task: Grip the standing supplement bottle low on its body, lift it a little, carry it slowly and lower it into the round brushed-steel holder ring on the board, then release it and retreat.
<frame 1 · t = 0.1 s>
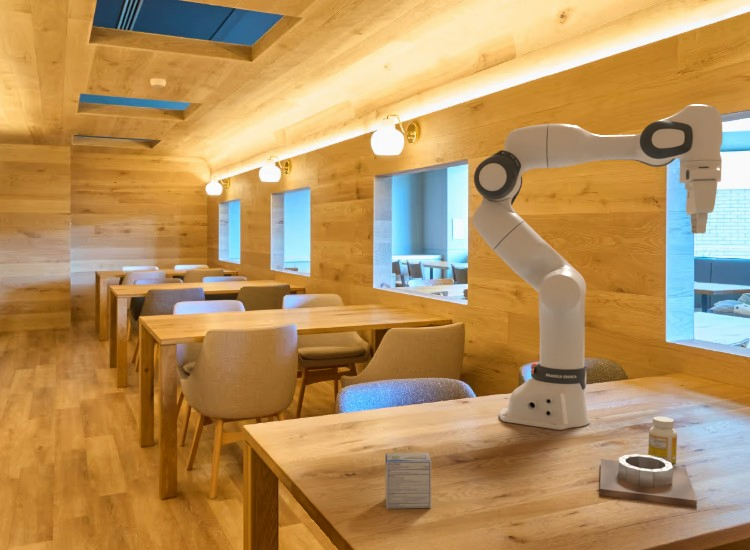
hand: (698, 233, 157), 48 cm above the table, fingers open, 8 cm apart
medicine box: (407, 505, 117), on the table
supplement bottle: (661, 465, 137), on the table
holder board: (644, 484, 126), on the table
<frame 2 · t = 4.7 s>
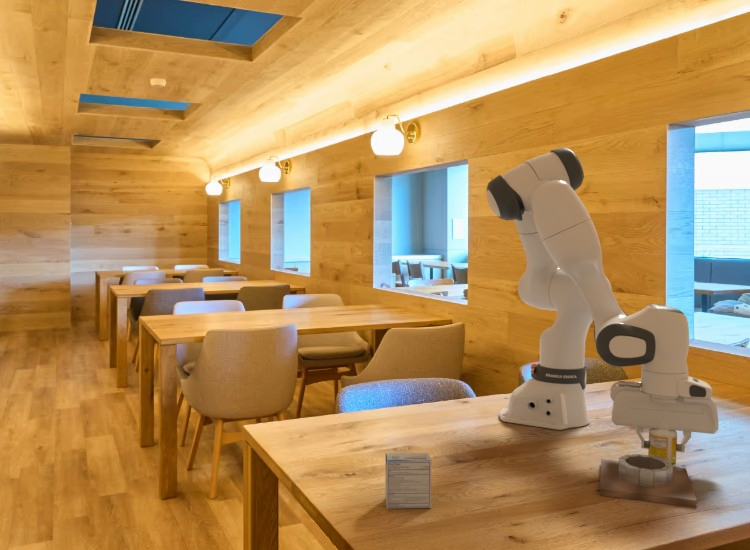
hand: (662, 449, 137), 3 cm above the table, fingers closed on supplement bottle, 5 cm apart
supplement bottle: (661, 465, 137), on the table, touching gripper
everything else where it was.
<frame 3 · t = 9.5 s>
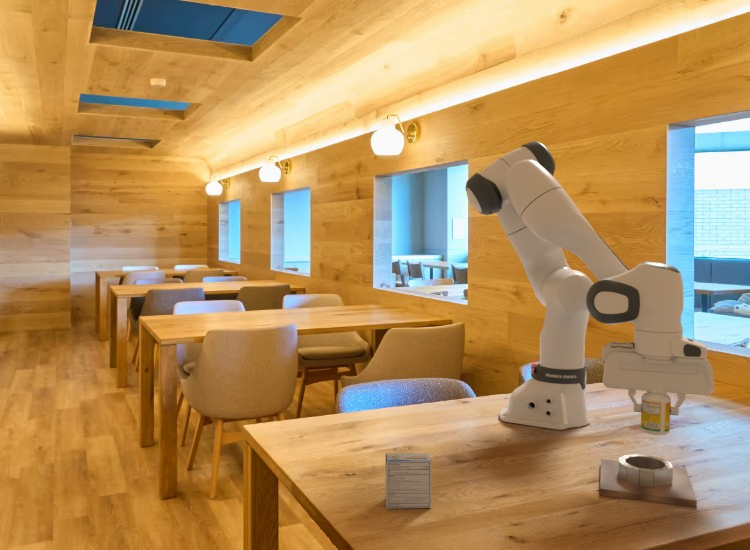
hand: (655, 413, 132), 12 cm above the table, fingers closed on supplement bottle, 5 cm apart
supplement bottle: (655, 432, 132), point 8 cm above the table, touching gripper
everything else where it was.
when the fingers open (6 cm above the table, at t = 14.2 s): supplement bottle stays where it is, resting on holder board.
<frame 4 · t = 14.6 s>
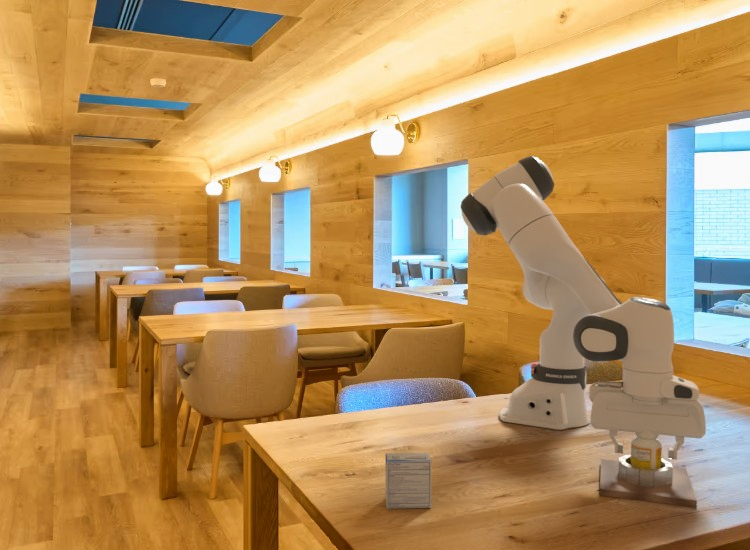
hand: (645, 455, 126), 6 cm above the table, fingers open, 8 cm apart
supplement bottle: (645, 478, 126), point 1 cm above the table, touching holder board
everything else where it was.
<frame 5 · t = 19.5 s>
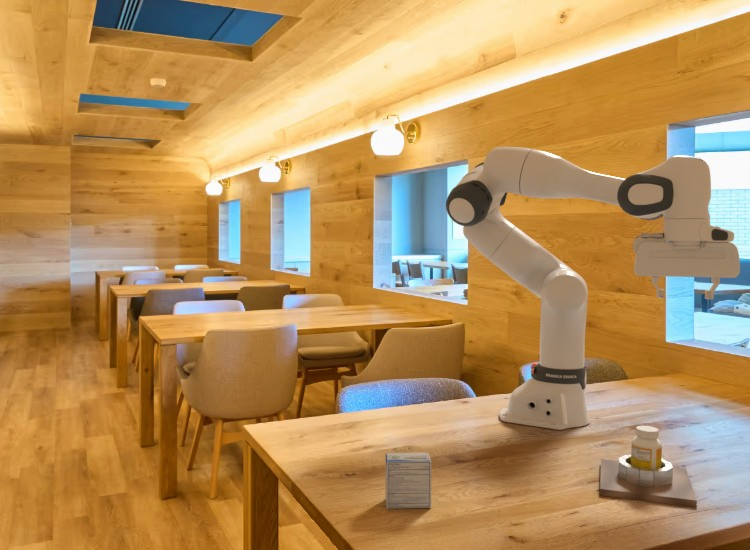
hand: (684, 298, 140), 34 cm above the table, fingers open, 8 cm apart
nothing on the table moved.
at the end: supplement bottle 0.1 cm off-centre on the holder board, point 1.0 cm above the holder board's base; supplement bottle tilted 0°; the gripper is holding nothing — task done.
